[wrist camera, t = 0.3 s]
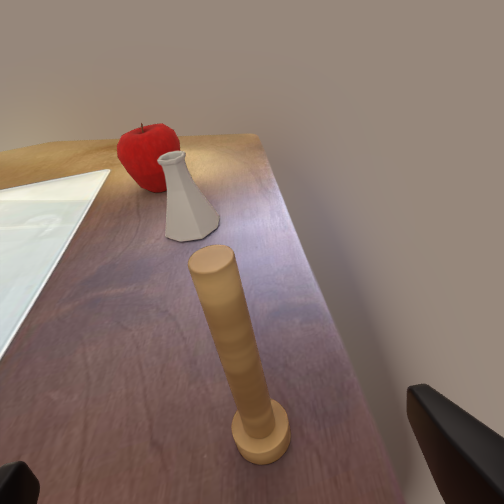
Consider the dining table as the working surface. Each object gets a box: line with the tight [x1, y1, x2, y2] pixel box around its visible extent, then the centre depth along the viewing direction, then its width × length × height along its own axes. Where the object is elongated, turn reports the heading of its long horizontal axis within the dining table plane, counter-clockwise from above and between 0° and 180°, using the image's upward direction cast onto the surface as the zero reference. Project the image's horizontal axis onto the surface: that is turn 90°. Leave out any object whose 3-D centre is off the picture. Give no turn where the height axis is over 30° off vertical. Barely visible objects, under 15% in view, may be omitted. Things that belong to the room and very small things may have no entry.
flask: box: [157, 151, 219, 242], centre depth 44 cm, size 7×7×10 cm
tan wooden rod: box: [188, 245, 291, 465], centre depth 19 cm, size 4×4×14 cm
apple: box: [117, 123, 180, 192], centre depth 57 cm, size 10×10×11 cm
